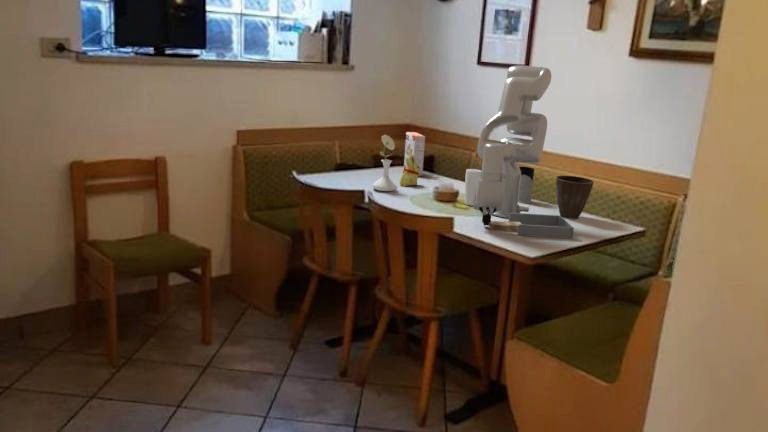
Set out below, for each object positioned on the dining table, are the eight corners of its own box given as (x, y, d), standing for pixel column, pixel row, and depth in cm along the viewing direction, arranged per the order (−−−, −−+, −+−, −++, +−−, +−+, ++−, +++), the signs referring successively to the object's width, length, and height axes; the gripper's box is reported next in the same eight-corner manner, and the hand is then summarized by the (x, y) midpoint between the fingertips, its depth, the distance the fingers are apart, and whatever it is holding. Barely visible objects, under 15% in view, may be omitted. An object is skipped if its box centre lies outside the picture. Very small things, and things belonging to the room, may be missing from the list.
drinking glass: (477, 203, 289) (480, 169, 286) (479, 206, 283) (483, 172, 279) (461, 202, 289) (465, 168, 285) (463, 206, 283) (467, 171, 279)
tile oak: (519, 228, 254) (519, 222, 254) (522, 232, 249) (523, 226, 248) (503, 227, 254) (504, 221, 254) (506, 231, 248) (507, 225, 248)
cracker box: (402, 171, 352) (405, 131, 347) (413, 171, 354) (416, 131, 349) (411, 176, 339) (414, 135, 334) (422, 176, 341) (426, 135, 336)
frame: (558, 225, 261) (560, 215, 260) (572, 238, 243) (573, 228, 242) (508, 222, 260) (509, 212, 259) (518, 235, 243) (519, 224, 242)
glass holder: (510, 201, 297) (514, 168, 294) (514, 195, 311) (518, 163, 307) (530, 204, 295) (534, 170, 291) (533, 197, 308) (537, 166, 304)
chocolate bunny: (421, 185, 318) (424, 154, 315) (403, 187, 312) (405, 155, 309) (413, 182, 324) (415, 152, 320) (395, 184, 318) (397, 153, 314)
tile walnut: (503, 228, 254) (504, 221, 253) (506, 232, 248) (507, 226, 248) (488, 227, 254) (488, 220, 253) (490, 231, 248) (491, 224, 247)
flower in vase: (401, 192, 299) (405, 137, 293) (377, 193, 295) (381, 137, 289) (390, 186, 311) (394, 133, 305) (367, 187, 307) (370, 133, 301)
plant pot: (573, 211, 286) (578, 175, 282) (595, 220, 272) (601, 182, 268) (544, 212, 280) (549, 175, 276) (565, 222, 267) (570, 183, 263)
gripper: (509, 176, 250) (503, 223, 255) (469, 173, 250) (465, 220, 254) (513, 180, 243) (507, 228, 247) (472, 177, 242) (467, 226, 247)
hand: (485, 224), depth 251 cm, fingers closed
